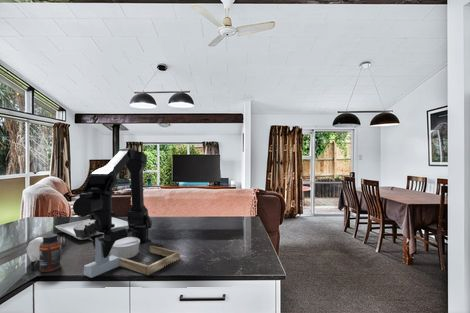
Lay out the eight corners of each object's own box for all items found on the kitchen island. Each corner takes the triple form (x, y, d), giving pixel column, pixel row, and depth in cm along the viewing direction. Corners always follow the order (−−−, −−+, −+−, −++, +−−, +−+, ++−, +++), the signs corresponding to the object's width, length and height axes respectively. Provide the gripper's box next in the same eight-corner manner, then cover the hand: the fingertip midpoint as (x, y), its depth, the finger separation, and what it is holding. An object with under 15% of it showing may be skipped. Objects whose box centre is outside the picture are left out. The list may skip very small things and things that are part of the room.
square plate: (77, 244, 112) (77, 235, 112) (54, 233, 129) (54, 225, 129) (134, 230, 134) (134, 222, 134) (108, 221, 150) (108, 215, 150)
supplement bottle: (65, 265, 90) (65, 232, 90) (53, 272, 84) (53, 238, 84) (47, 265, 90) (47, 232, 90) (34, 273, 84) (34, 238, 84)
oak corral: (151, 251, 103) (151, 245, 103) (179, 258, 96) (179, 252, 96) (118, 265, 90) (118, 258, 90) (148, 275, 83) (148, 267, 83)
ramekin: (129, 262, 93) (129, 247, 93) (101, 259, 95) (101, 245, 95) (145, 251, 104) (145, 237, 104) (120, 248, 106) (120, 236, 106)
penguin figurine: (24, 239, 91) (49, 232, 103) (23, 264, 90) (48, 254, 102) (42, 239, 91) (65, 232, 103) (41, 264, 90) (64, 254, 102)
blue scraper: (83, 275, 83) (83, 240, 83) (112, 263, 92) (112, 232, 92) (91, 277, 81) (91, 242, 81) (119, 266, 90) (119, 234, 90)
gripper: (61, 211, 84) (61, 259, 84) (96, 218, 75) (96, 272, 75) (94, 205, 94) (94, 248, 94) (129, 211, 84) (128, 259, 84)
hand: (102, 256), depth 86 cm, fingers closed on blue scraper, 3 cm apart
